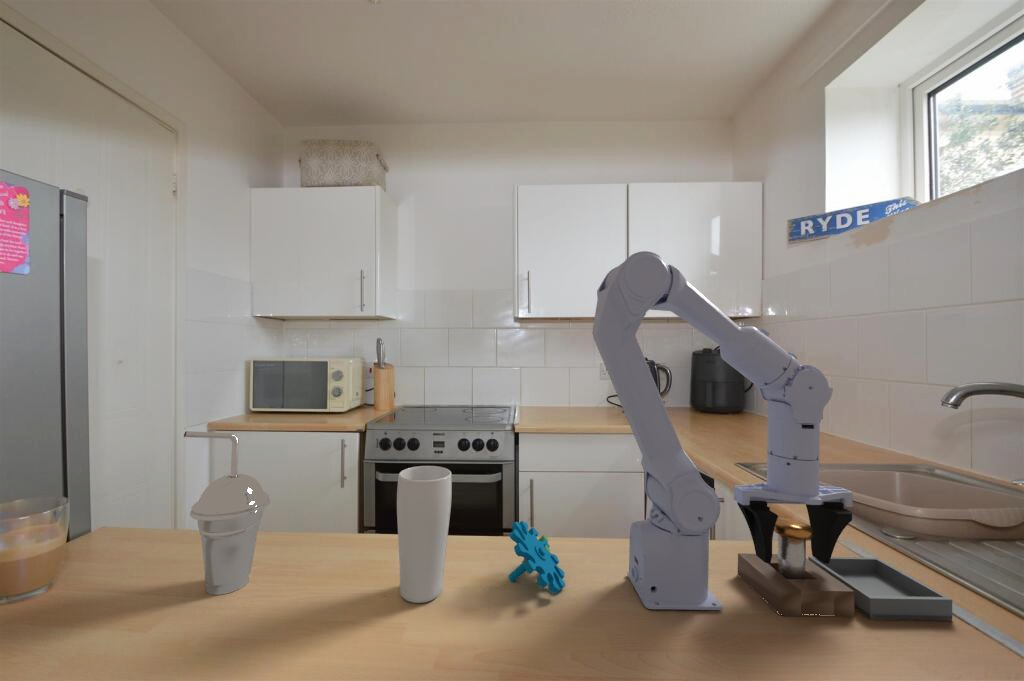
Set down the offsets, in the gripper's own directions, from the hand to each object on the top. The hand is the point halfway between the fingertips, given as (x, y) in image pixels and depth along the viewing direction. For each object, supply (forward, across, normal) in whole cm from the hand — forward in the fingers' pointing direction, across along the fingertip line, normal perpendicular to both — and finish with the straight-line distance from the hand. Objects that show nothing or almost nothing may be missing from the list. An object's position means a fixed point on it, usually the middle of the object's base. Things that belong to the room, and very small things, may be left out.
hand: (792, 559), depth 54 cm
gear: (+5, -33, +2) cm, 34 cm away
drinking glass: (+4, -48, -1) cm, 48 cm away
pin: (+4, 0, 0) cm, 5 cm away
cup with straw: (+4, -73, 0) cm, 73 cm away
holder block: (+4, 0, 0) cm, 5 cm away
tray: (+4, +11, 0) cm, 12 cm away
